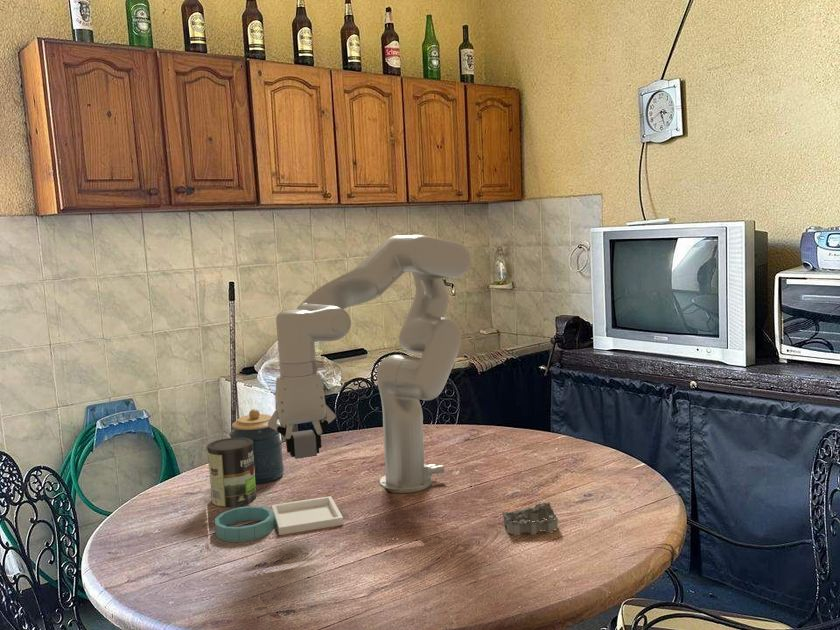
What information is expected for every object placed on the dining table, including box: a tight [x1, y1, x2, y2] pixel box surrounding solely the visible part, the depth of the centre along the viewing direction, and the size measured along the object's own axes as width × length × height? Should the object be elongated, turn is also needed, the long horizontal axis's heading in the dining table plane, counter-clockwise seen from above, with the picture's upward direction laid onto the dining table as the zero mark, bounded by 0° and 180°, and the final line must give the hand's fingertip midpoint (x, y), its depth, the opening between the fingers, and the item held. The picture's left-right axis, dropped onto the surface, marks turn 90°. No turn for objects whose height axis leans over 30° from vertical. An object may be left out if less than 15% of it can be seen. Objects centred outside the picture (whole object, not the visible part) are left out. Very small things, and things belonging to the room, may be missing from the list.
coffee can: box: [206, 437, 257, 508], centre depth 167 cm, size 10×10×14 cm
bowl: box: [214, 505, 275, 543], centre depth 150 cm, size 12×12×4 cm
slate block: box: [292, 429, 318, 460], centre depth 154 cm, size 4×4×4 cm
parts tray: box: [271, 495, 344, 536], centre depth 155 cm, size 13×13×2 cm
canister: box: [228, 408, 285, 485], centre depth 184 cm, size 13×13×18 cm
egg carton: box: [501, 502, 559, 536], centre depth 148 cm, size 11×8×4 cm
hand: (304, 452), depth 154 cm, fingers closed on slate block, 4 cm apart
